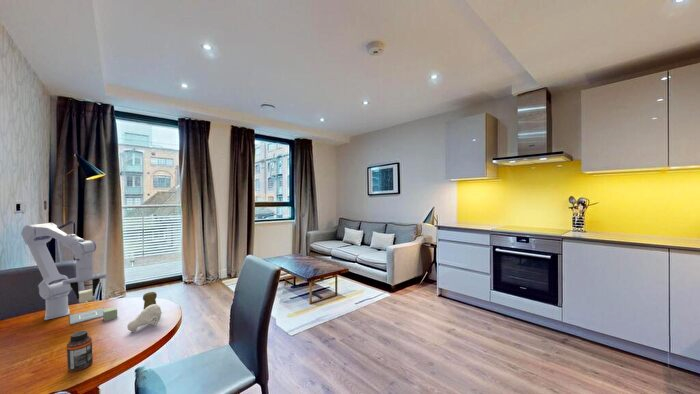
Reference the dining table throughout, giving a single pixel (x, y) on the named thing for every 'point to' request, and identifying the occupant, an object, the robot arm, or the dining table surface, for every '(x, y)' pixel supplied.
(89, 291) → the cream block
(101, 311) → the plate
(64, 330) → the dining table surface
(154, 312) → the white lumpy piece
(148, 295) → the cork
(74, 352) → the supplement bottle
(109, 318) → the sage block
